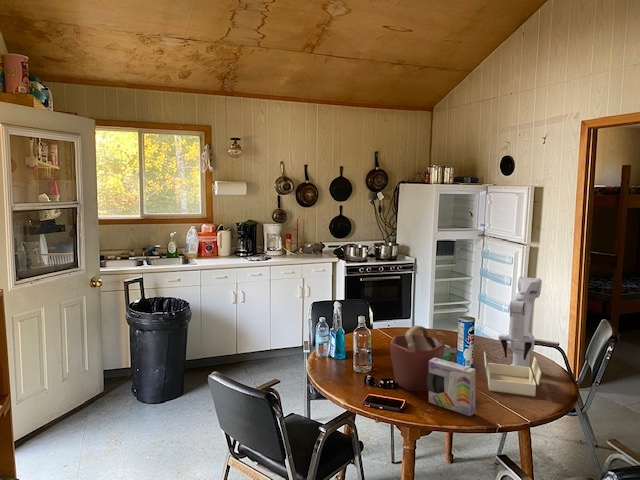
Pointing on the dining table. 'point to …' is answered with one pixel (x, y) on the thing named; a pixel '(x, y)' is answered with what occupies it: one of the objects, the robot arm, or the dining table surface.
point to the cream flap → (536, 370)
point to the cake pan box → (451, 386)
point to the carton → (511, 379)
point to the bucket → (414, 358)
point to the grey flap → (485, 365)
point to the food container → (449, 353)
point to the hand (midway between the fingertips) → (515, 358)
